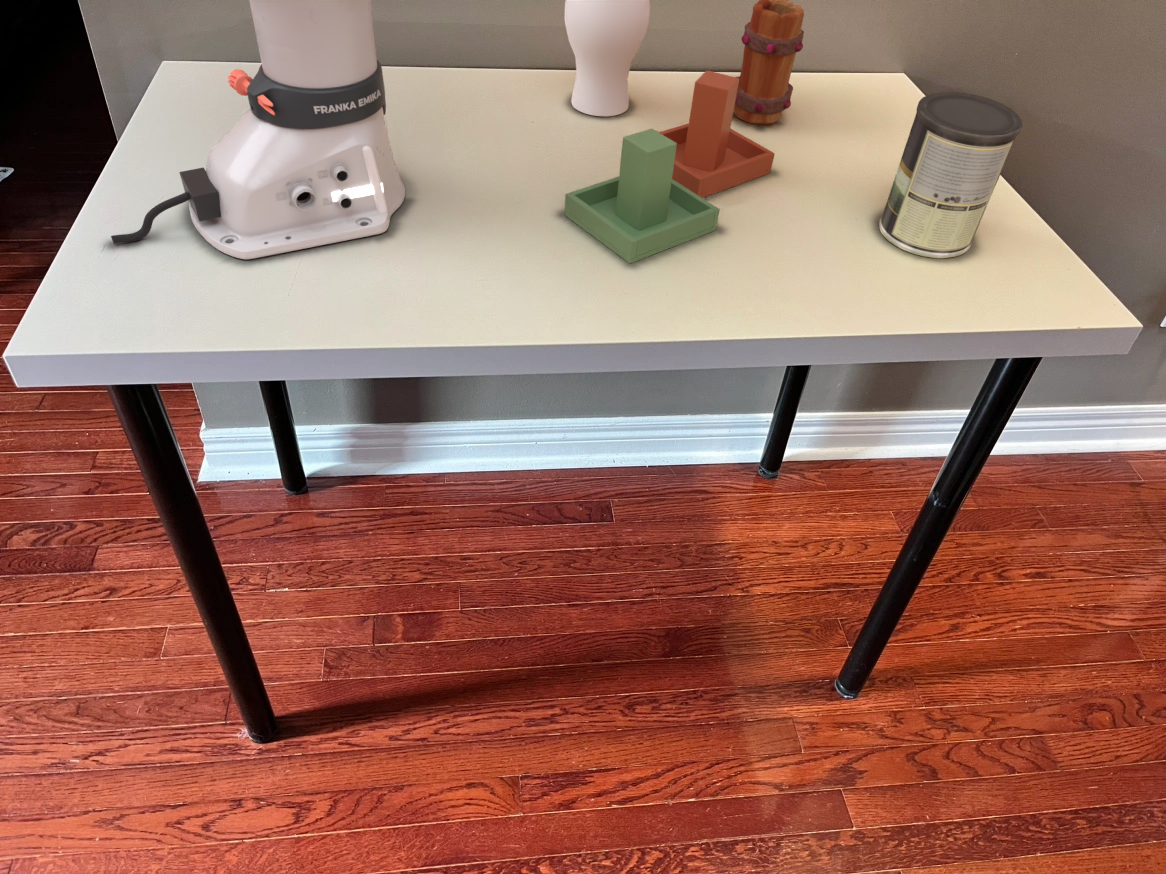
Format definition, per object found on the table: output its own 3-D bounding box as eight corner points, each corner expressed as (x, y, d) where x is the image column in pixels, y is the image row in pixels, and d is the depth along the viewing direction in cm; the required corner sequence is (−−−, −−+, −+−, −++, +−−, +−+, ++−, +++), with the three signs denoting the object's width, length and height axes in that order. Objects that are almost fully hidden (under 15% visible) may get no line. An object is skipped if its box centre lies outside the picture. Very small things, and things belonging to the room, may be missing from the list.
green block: (638, 231, 95) (647, 152, 88) (615, 214, 97) (622, 136, 90) (666, 220, 96) (677, 143, 90) (642, 204, 99) (651, 127, 92)
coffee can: (859, 218, 101) (897, 97, 91) (929, 204, 104) (974, 86, 94) (917, 266, 94) (966, 141, 84) (990, 249, 97) (1045, 127, 88)
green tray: (630, 263, 91) (632, 242, 89) (564, 214, 97) (565, 193, 95) (716, 230, 97) (720, 209, 95) (648, 186, 103) (651, 165, 101)
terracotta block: (713, 173, 105) (728, 90, 98) (682, 164, 106) (694, 81, 99) (724, 159, 108) (739, 78, 101) (694, 151, 109) (706, 70, 102)
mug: (785, 137, 115) (813, 16, 104) (723, 127, 115) (744, 6, 105) (789, 92, 125) (815, -22, 114) (731, 84, 126) (752, -30, 115)
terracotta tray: (696, 200, 101) (699, 179, 100) (632, 159, 107) (635, 139, 106) (770, 173, 107) (775, 153, 105) (706, 136, 113) (709, 116, 112)
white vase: (562, 85, 122) (568, -33, 111) (639, 91, 122) (651, -26, 111) (558, 118, 114) (563, -5, 104) (639, 125, 114) (653, 3, 104)
